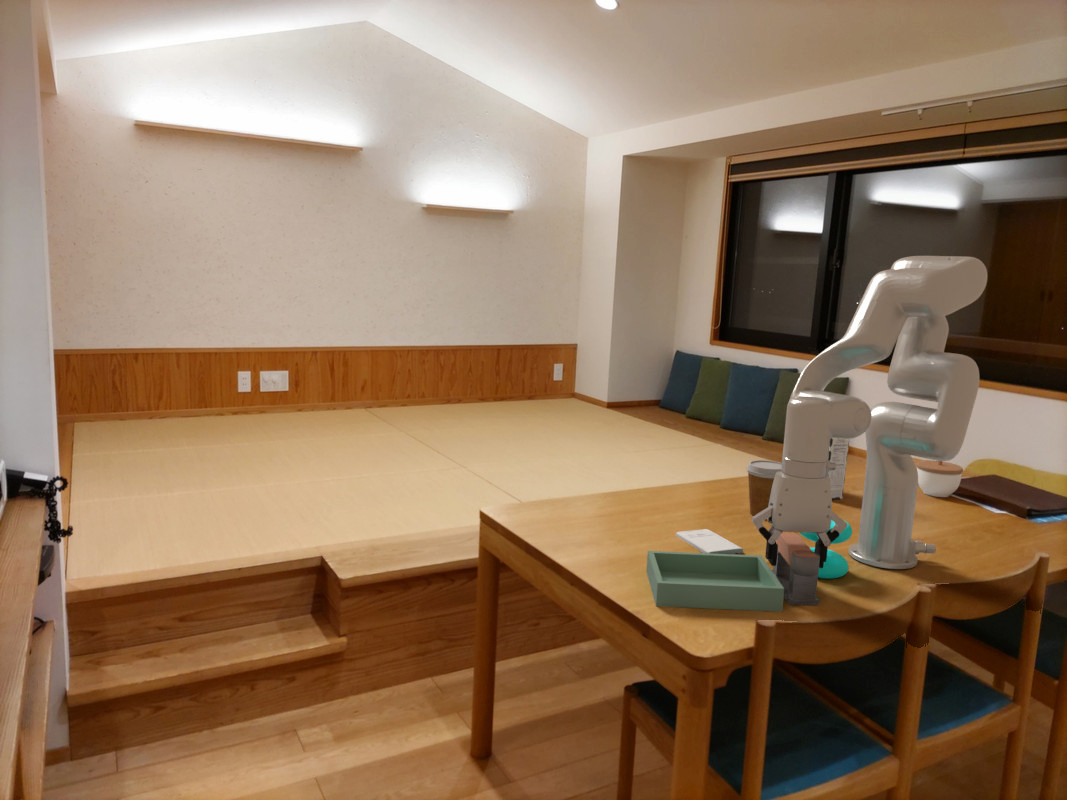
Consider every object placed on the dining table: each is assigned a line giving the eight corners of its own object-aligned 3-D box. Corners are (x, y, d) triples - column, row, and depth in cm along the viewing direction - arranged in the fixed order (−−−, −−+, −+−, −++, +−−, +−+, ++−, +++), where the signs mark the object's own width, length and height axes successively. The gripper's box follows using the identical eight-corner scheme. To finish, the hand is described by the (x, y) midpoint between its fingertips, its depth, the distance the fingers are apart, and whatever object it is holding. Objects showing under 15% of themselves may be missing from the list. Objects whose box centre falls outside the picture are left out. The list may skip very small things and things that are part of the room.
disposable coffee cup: (780, 509, 187) (784, 460, 185) (789, 522, 178) (793, 471, 176) (739, 506, 188) (743, 458, 186) (746, 519, 179) (750, 468, 177)
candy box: (791, 485, 209) (796, 425, 206) (809, 484, 210) (815, 424, 207) (824, 500, 196) (830, 436, 193) (844, 499, 197) (850, 435, 195)
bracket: (769, 575, 146) (771, 547, 145) (796, 576, 146) (798, 548, 145) (789, 604, 133) (791, 574, 132) (818, 606, 133) (821, 575, 132)
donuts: (862, 521, 148) (838, 533, 141) (856, 571, 149) (833, 585, 142) (811, 509, 155) (787, 519, 148) (807, 557, 156) (782, 569, 149)
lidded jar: (917, 497, 201) (921, 461, 200) (910, 486, 211) (914, 452, 210) (963, 502, 198) (968, 466, 197) (954, 490, 208) (958, 456, 207)
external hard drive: (708, 559, 154) (675, 538, 166) (742, 555, 157) (708, 535, 169) (708, 551, 154) (675, 531, 166) (743, 547, 157) (708, 528, 169)
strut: (773, 548, 145) (774, 532, 144) (798, 549, 145) (799, 533, 144) (794, 576, 132) (796, 559, 131) (822, 577, 131) (823, 560, 131)
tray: (759, 576, 145) (761, 555, 144) (782, 611, 130) (784, 588, 130) (646, 571, 146) (647, 550, 145) (656, 606, 131) (657, 582, 130)
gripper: (846, 464, 139) (837, 558, 142) (748, 460, 140) (740, 554, 143) (862, 475, 132) (852, 574, 135) (759, 471, 132) (750, 570, 135)
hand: (795, 563), depth 139 cm, fingers open, 7 cm apart
